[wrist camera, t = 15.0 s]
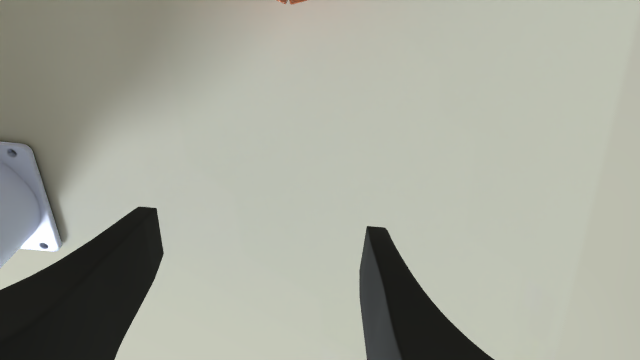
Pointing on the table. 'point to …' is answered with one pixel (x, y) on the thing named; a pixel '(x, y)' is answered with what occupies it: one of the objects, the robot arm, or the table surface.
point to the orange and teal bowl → (291, 1)
